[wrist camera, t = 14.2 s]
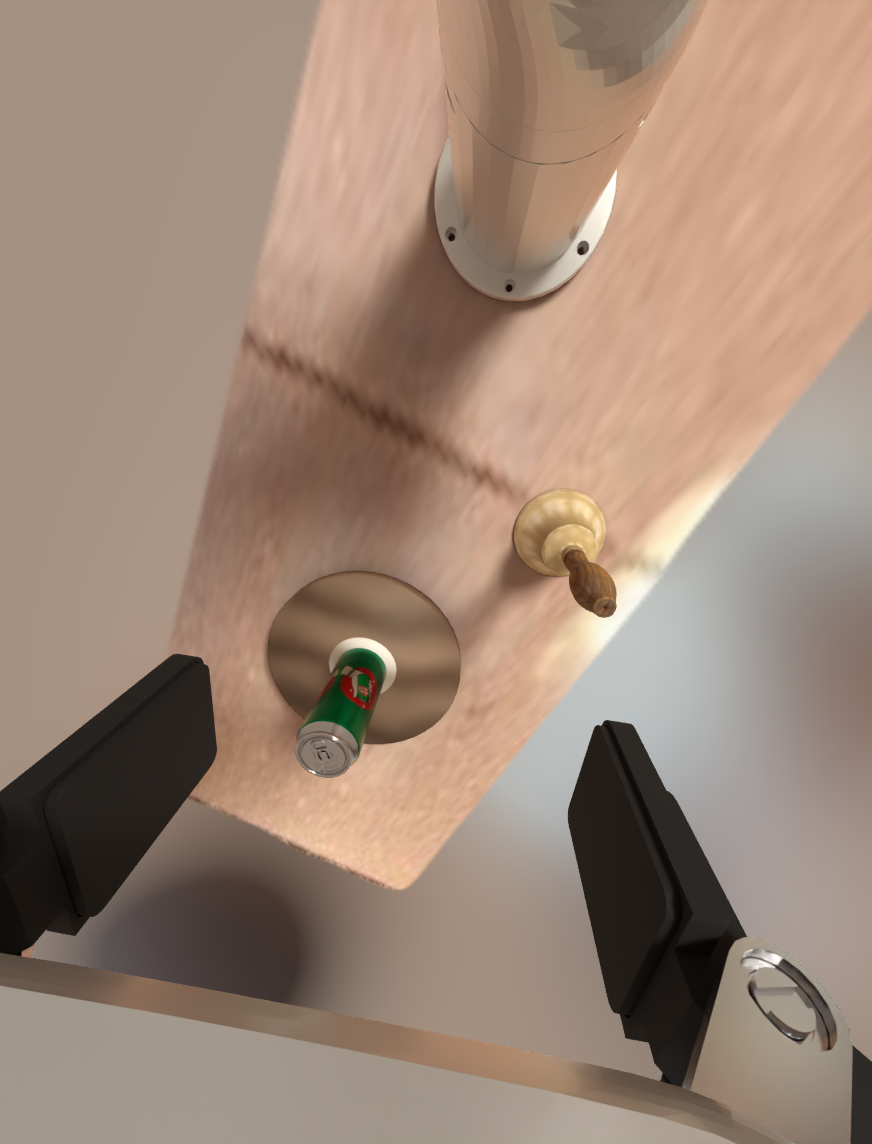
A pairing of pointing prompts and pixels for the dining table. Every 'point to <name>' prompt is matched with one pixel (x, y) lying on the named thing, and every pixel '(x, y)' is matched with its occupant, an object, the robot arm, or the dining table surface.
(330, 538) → the dining table surface
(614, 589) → the hand bell
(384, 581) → the turntable
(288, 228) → the dining table surface
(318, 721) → the soda can
